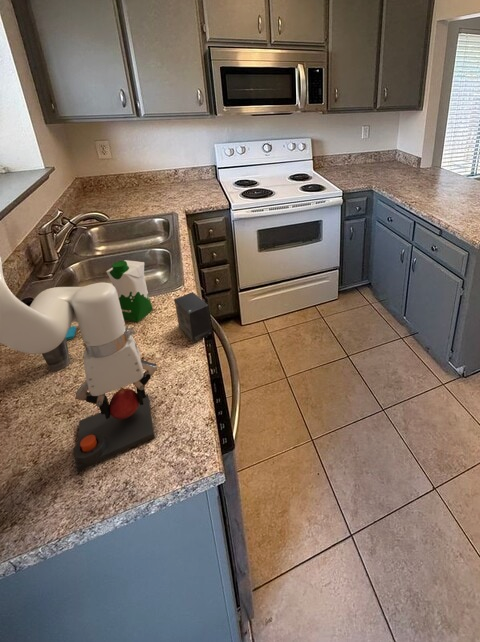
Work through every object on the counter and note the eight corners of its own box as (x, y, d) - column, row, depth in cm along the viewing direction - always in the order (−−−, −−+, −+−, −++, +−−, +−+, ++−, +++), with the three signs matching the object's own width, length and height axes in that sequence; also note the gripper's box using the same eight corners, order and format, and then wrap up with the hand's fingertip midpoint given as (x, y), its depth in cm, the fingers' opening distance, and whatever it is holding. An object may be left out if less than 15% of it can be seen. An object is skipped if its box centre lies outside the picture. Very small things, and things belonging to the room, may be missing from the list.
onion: (114, 433, 76) (106, 404, 74) (111, 414, 81) (103, 387, 78) (144, 418, 80) (137, 391, 77) (139, 401, 84) (132, 374, 81)
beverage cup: (51, 378, 93) (28, 314, 86) (38, 368, 96) (15, 305, 90) (80, 361, 99) (61, 299, 92) (68, 351, 102) (48, 291, 96)
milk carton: (115, 320, 115) (101, 266, 109) (136, 304, 124) (123, 252, 117) (138, 324, 113) (125, 269, 106) (157, 308, 121) (146, 255, 115)
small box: (213, 333, 108) (209, 304, 105) (193, 344, 104) (187, 314, 101) (197, 318, 116) (193, 290, 112) (178, 327, 111) (172, 299, 108)
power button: (81, 454, 71) (79, 449, 70) (82, 443, 73) (80, 438, 72) (96, 448, 72) (95, 442, 72) (97, 437, 74) (95, 432, 74)
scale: (75, 474, 70) (72, 463, 69) (79, 425, 80) (76, 415, 79) (154, 438, 77) (152, 428, 76) (149, 398, 87) (146, 388, 86)
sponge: (29, 336, 107) (23, 346, 102) (76, 324, 112) (73, 333, 107) (31, 340, 108) (25, 351, 102) (77, 329, 113) (74, 338, 107)
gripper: (151, 317, 80) (164, 379, 86) (58, 345, 72) (80, 412, 78) (154, 336, 74) (169, 402, 80) (53, 369, 66) (78, 439, 72)
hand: (125, 406), depth 79 cm, fingers closed on onion, 6 cm apart
